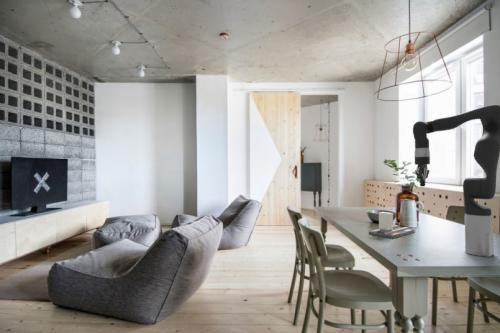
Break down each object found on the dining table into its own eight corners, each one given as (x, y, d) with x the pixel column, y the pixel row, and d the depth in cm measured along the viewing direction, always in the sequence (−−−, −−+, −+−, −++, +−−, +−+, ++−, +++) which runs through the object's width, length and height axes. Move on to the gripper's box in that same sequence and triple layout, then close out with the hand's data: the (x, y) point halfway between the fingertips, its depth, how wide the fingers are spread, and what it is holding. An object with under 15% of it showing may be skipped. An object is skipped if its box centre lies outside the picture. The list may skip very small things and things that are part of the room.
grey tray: (414, 232, 166) (414, 228, 166) (392, 238, 152) (392, 233, 152) (390, 228, 178) (390, 224, 178) (368, 233, 164) (368, 229, 164)
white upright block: (393, 232, 160) (393, 212, 160) (388, 233, 158) (388, 213, 158) (383, 230, 165) (383, 211, 165) (378, 231, 162) (378, 212, 163)
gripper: (420, 156, 171) (421, 185, 171) (409, 156, 164) (410, 186, 163) (434, 156, 165) (434, 186, 165) (423, 155, 157) (424, 187, 157)
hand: (422, 186), depth 164 cm, fingers closed
